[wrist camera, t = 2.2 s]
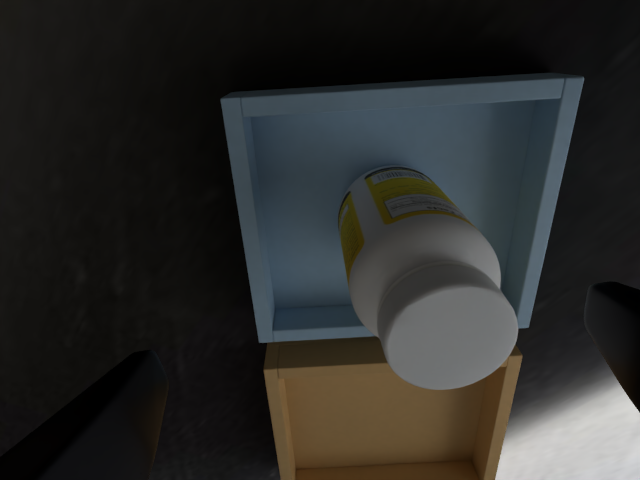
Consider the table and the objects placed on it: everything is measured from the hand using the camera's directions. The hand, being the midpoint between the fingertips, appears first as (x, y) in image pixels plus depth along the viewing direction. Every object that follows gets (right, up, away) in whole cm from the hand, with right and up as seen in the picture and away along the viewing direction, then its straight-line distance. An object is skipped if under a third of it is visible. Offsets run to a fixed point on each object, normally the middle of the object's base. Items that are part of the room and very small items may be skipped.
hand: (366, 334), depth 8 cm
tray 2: (+3, -9, +19) cm, 21 cm away
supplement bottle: (+3, +3, +12) cm, 13 cm away
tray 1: (+3, +4, +13) cm, 13 cm away
